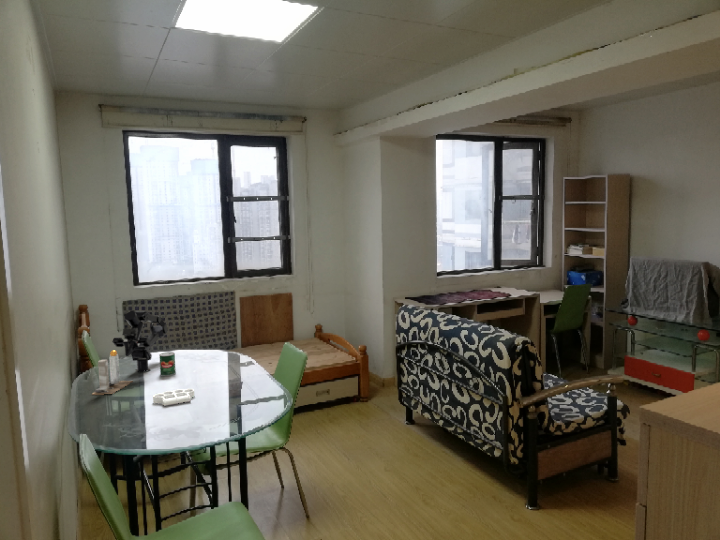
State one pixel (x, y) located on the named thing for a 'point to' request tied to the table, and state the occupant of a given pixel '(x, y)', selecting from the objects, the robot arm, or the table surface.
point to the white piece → (174, 397)
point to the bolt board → (116, 387)
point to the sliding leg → (114, 368)
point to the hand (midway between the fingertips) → (126, 355)
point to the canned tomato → (167, 363)
